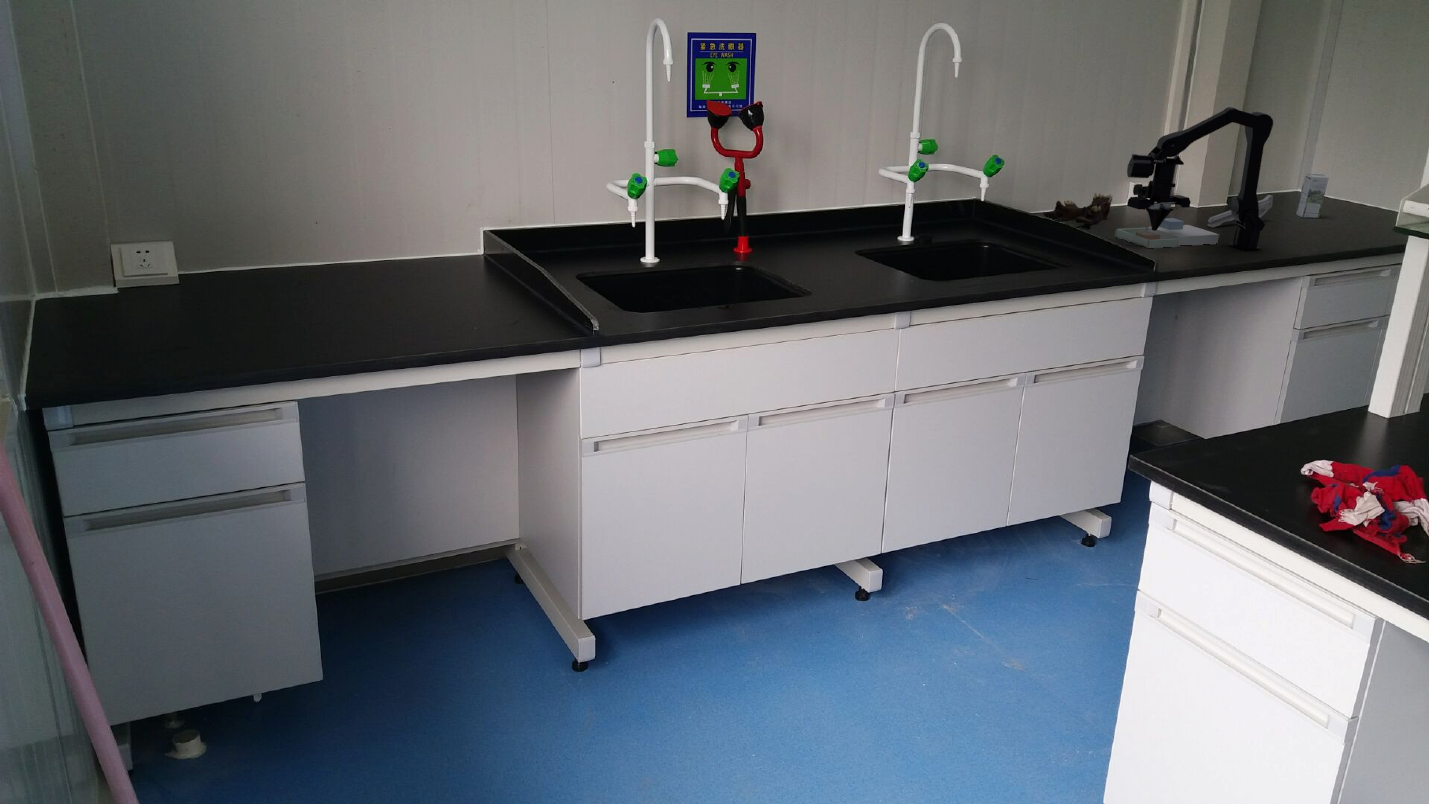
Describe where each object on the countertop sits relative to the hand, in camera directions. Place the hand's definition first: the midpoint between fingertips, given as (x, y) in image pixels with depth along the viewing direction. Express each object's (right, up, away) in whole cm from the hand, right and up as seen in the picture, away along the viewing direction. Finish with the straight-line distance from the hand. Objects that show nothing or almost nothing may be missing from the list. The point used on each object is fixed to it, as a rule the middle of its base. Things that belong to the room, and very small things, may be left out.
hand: (1154, 230), depth 330 cm
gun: (+41, +7, +32) cm, 52 cm away
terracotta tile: (-2, -1, 0) cm, 2 cm away
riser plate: (+11, -2, +7) cm, 13 cm away
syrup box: (+72, +12, +46) cm, 86 cm away
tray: (-1, -3, +3) cm, 5 cm away
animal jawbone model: (-11, +7, +28) cm, 31 cm away
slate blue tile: (+9, +2, +9) cm, 13 cm away
